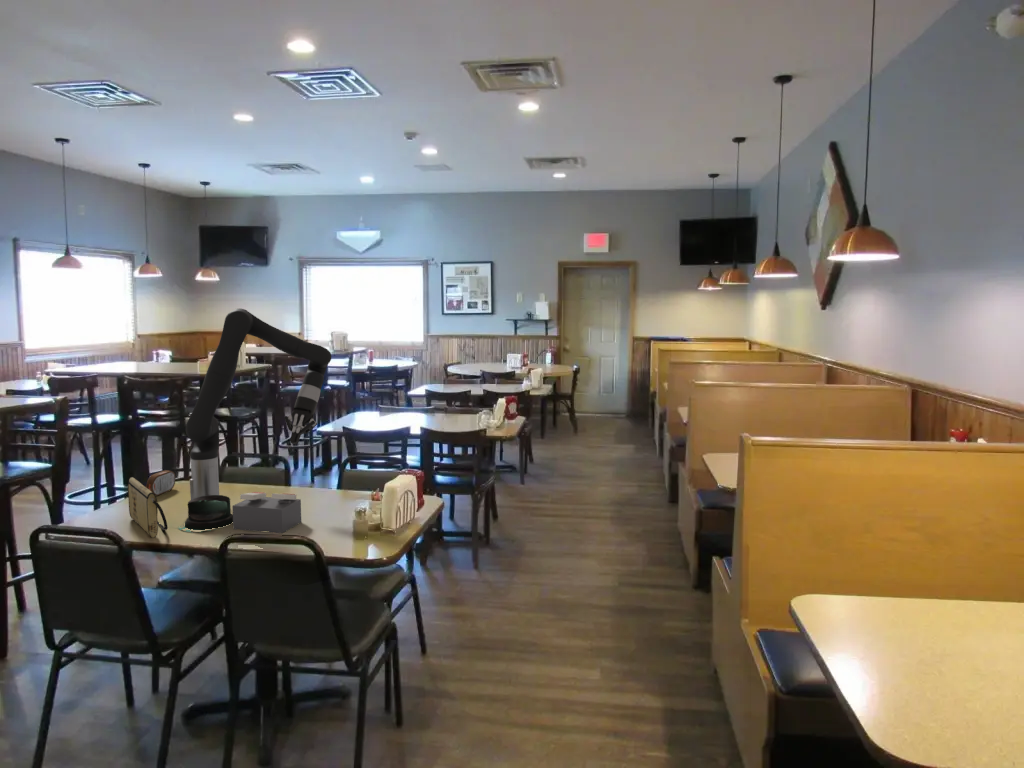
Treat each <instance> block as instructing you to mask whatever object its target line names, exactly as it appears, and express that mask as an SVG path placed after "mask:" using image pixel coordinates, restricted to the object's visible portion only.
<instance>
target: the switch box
mask: <svg viewBox="0 0 1024 768" xmlns="http://www.w3.org/2000/svg"><path fill="white" fill-rule="evenodd" d="M271 497H272V496H266V498H262V499H256V500H245V499H243V500H242V501H239V502H237V503H236V504H233V505H232V515H233V523H232V525H233V526H232V527H233V530H237V529H240V531H248V532H261V531H269V532H268V533H273V532H276V534H277V533H278V534H284V533H285V532H287V531H289V530H290V528H291V529H292V528H294V527H295V525H296V526H298V525H299V524H301V523H302V503H301V500H302V499H301V498H300V499H299V498H296V499H274V498H271ZM300 522H301V523H300ZM298 523H299V524H298ZM293 526H294V527H293ZM283 532H284V533H283Z"/></svg>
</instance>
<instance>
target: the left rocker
mask: <svg viewBox="0 0 1024 768" xmlns="http://www.w3.org/2000/svg"><path fill="white" fill-rule="evenodd" d="M239 497H240V498H239V499H240V500H256V499H262V498H266V497H267V492H265V491H264V492H261V491H260V492H259V491H253V492H247V493H241V494H240V495H239Z"/></svg>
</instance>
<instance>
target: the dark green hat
mask: <svg viewBox="0 0 1024 768" xmlns="http://www.w3.org/2000/svg"><path fill="white" fill-rule="evenodd" d="M231 511H232V510H231V498H230V497H229V496H227V495H223V494H219V495H208V496H201V497H197V498H194V499H192V500H191V499H190V500H189V501H187V515H188V516H187V518H186V519H185V521H184V523H185V526H182V527H183V528H181V527H177V529H178V530H179V531H181V530H182V529H185V528H188V529H190V530H191V529H193V530H205V529H212V528H218V527H223V526H226V525H229V524H231V523H232V522H233V513H232V512H231ZM232 524H233V523H232ZM232 524H231V525H232ZM229 526H230V525H229ZM226 527H227V526H226ZM223 528H224V527H223ZM190 530H186V531H185V532H187V533H192V532H191V531H190ZM200 533H203V532H202V531H201V532H200Z"/></svg>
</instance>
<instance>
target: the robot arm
mask: <svg viewBox="0 0 1024 768" xmlns="http://www.w3.org/2000/svg"><path fill="white" fill-rule="evenodd" d="M247 335H250V336H252V337H256V338H258V339H259V340H263V341H264V342H266V343H267V344H269V345H271V346H272V347H274V348H275V349H277V350H280V352H283V353H285V354H288V355H289V356H292V357H294V358H296V359H305V360H307V361H308V364H307V369H306V373H305V375H304V377H303V380H302V384H301V386H300V388H299V391H298V393H297V397H296V400H295V402H294V406H293V411H292V412H291V414H290V415H288V416H287V415H285V416H284V418H283V419H284V421H285V424H286V427H287V429H288V430H289V431H290V432H291V435H290V438H289V441H290V444H293V445H297V444H299V441H300V439H301V435H306V434H308V433H309V432H310V431H311V430H313V429H314V428H315V427H316V426H317V425H318V422H317V421H315V420H314V414H315V412H316V410H317V409H316V408H317V406H318V404H319V403H318V402H319V400H320V395H321V390H322V386H323V384H324V380H325V374H326V370H327V368H328V365H329V364H330V362H331V361H332V354H331V352H330V350H329V349H327V348H326V347H324V346H322V345H319V344H315V343H312V342H308V341H305V340H304V339H302V338H299V337H297V336H295V335H292V334H290V333H288V332H286V331H283V330H281V329H279V328H277V327H274V326H273V325H270V324H269V323H267V322H265V321H264V320H261V319H260V318H259V317H257V316H255V315H254V314H253V313H251V312H250V311H248V310H246V309H244V308H235V309H232V310H231V311H229V313H227V315H226V316H225V318H224V322H223V328H222V331H221V336H220V339H219V342H218V345H217V347H216V350H214V351H215V352H214V353H213V356H212V358H211V360H210V362H209V365H208V367H207V370H206V374H205V376H204V379H203V382H202V384H201V388H200V391H199V393H198V397H197V400H196V402H195V406H194V407H193V410H192V411H191V414H190V416H189V418H188V419H187V422H186V425H185V433H186V436H187V438H188V439H190V441H193V442H194V444H193V447H192V448H191V451H190V453H189V455H190V469H191V470H190V471H191V472H190V473H191V475H190V476H191V478H190V479H189V492H190V494H189V495H190V500H192V499H194V498H197V497H201V496H208V495H220V481H219V480H220V479H219V477H220V476H219V460H218V459H219V458H218V455H219V454H218V452H219V448H220V426H219V422H218V420H217V418H216V417H215V416H214V415H215V413H216V410H217V408H218V407H219V405H220V403H221V402H222V401H223V400H224V398H225V396H226V395H227V393H228V392H229V389H230V387H231V386H232V384H233V380H234V377H235V374H236V371H237V368H238V361H239V355H240V351H241V349H242V345H243V343H244V341H245V339H246V337H247Z"/></svg>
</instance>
